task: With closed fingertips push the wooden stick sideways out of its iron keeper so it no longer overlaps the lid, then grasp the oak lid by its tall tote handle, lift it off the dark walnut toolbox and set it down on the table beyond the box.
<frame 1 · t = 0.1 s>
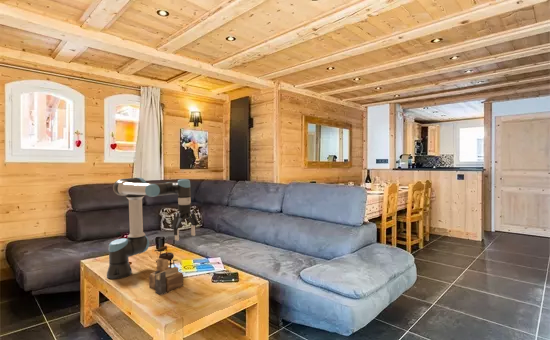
hand: (185, 237, 196), 28 cm above the table, fingers open, 13 cm apart
wooden stick: (167, 273, 185), point 10 cm above the table, slide at 0.0 cm
toolbox: (166, 286, 190), on the table
lid: (166, 275, 190), point 7 cm above the table, touching toolbox
music box: (167, 274, 210), on the table
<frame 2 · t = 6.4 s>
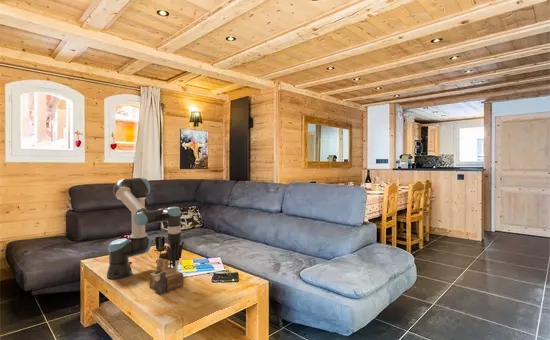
hand: (175, 271, 190), 9 cm above the table, fingers closed
wooden stick: (165, 274, 184), point 10 cm above the table, slide at 1.6 cm, touching gripper
everything else where it was.
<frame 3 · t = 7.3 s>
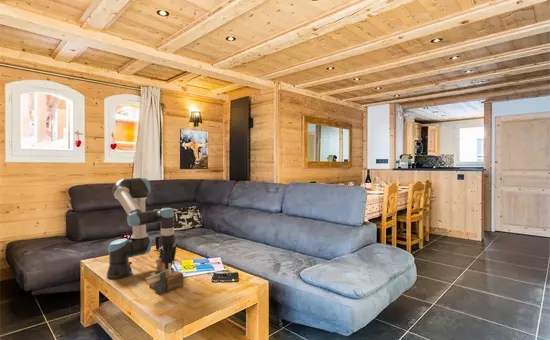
hand: (168, 273, 186), 9 cm above the table, fingers closed
wooden stick: (157, 277, 179), point 10 cm above the table, slide at 6.7 cm, touching gripper
everything else where it was.
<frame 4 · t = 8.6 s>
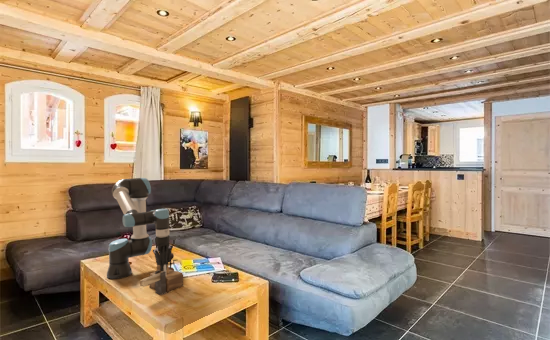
hand: (163, 275, 183), 9 cm above the table, fingers closed
wooden stick: (152, 279, 176), point 10 cm above the table, slide at 10.2 cm, touching gripper
everything else where it was.
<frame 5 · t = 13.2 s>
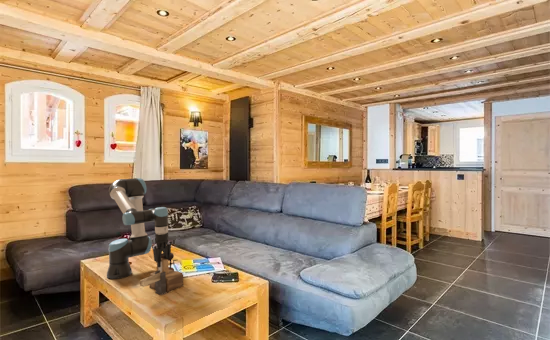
hand: (162, 270, 191), 9 cm above the table, fingers closed on lid, 3 cm apart
wooden stick: (152, 279, 176), point 10 cm above the table, slide at 10.2 cm
lid: (166, 275, 190), point 7 cm above the table, touching gripper, toolbox
everything else where it was.
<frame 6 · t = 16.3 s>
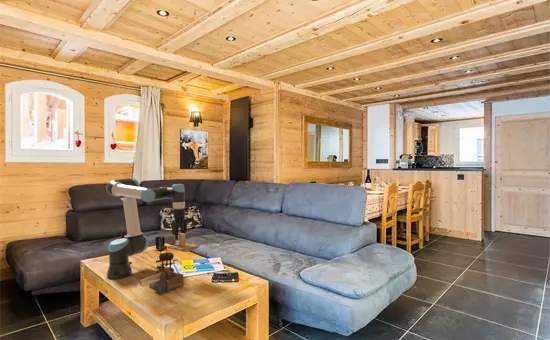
hand: (179, 244, 203), 22 cm above the table, fingers closed on lid, 3 cm apart
lid: (183, 247, 201), point 20 cm above the table, touching gripper
everything else where it was.
when the fingers open (4 cm above the table, at t = 19.7 s): lid drops 2 cm, on the table.
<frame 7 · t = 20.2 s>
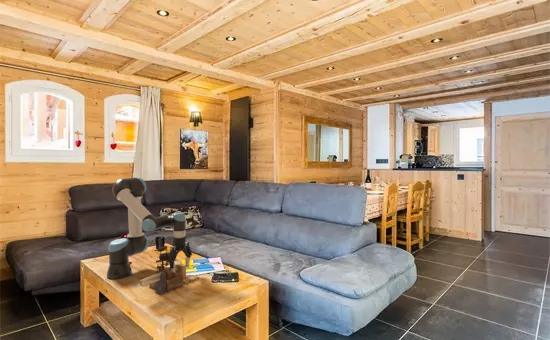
hand: (180, 270, 203), 5 cm above the table, fingers open, 11 cm apart
lid: (184, 279, 202), on the table
everything else where it was.
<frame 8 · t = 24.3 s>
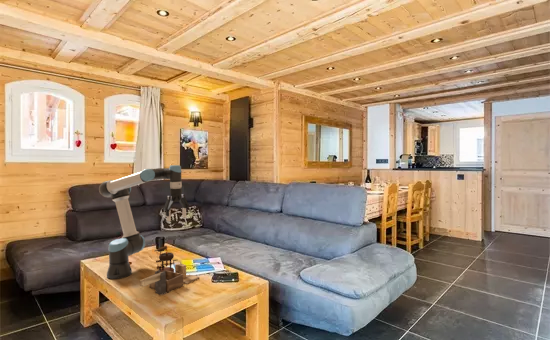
hand: (176, 219, 212), 37 cm above the table, fingers open, 13 cm apart
nothing on the table moved.
at the end: wooden stick slide at 10.2 cm; lid inside the target area (0.5 cm from its centre), on the table; lid tilted 0° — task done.
